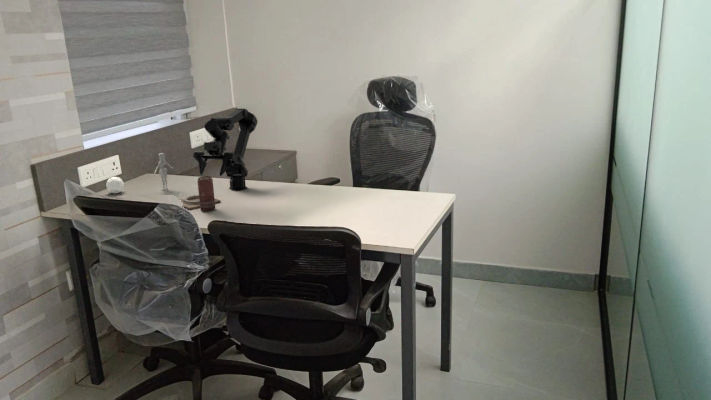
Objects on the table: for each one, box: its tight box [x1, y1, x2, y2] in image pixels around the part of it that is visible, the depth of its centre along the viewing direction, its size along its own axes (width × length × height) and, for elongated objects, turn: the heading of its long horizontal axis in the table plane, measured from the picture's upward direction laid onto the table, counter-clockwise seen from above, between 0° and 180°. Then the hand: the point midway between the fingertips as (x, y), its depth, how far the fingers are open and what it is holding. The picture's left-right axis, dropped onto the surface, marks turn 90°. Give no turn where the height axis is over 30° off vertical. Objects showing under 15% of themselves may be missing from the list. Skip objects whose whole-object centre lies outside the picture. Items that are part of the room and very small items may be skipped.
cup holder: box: [179, 194, 221, 211], centre depth 247 cm, size 15×15×2 cm
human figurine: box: [153, 152, 174, 192], centre depth 265 cm, size 12×4×18 cm, turn 152°
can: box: [197, 176, 216, 213], centre depth 234 cm, size 6×6×14 cm
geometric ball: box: [105, 176, 125, 194], centre depth 264 cm, size 8×8×8 cm
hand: (210, 175), depth 240 cm, fingers open, 9 cm apart
